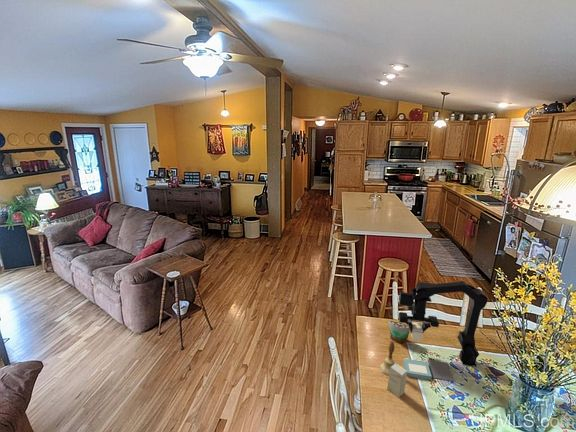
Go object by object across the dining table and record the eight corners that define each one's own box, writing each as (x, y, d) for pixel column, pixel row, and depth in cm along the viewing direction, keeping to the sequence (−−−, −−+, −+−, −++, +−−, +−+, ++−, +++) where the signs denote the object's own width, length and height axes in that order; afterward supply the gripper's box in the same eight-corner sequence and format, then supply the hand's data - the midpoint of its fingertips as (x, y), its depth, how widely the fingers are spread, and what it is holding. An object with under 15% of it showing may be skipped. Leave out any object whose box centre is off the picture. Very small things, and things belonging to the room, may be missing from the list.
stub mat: (447, 363, 155) (448, 362, 155) (454, 381, 144) (455, 380, 144) (427, 360, 157) (427, 359, 157) (433, 378, 146) (433, 377, 146)
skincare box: (386, 389, 139) (389, 366, 136) (392, 384, 142) (395, 362, 139) (399, 398, 134) (402, 375, 131) (404, 393, 137) (407, 370, 134)
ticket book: (426, 364, 154) (427, 361, 153) (431, 380, 145) (431, 376, 144) (403, 361, 156) (404, 357, 156) (406, 375, 147) (407, 372, 146)
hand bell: (397, 365, 153) (401, 338, 149) (397, 377, 146) (400, 349, 141) (380, 361, 156) (383, 334, 152) (379, 372, 149) (382, 344, 144)
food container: (385, 340, 172) (387, 324, 169) (387, 333, 177) (389, 318, 175) (408, 347, 167) (410, 331, 164) (410, 340, 172) (412, 325, 169)
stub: (419, 332, 163) (420, 323, 162) (421, 340, 156) (423, 331, 155) (410, 330, 164) (411, 321, 162) (412, 339, 157) (413, 330, 156)
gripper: (435, 301, 161) (431, 326, 165) (398, 296, 165) (395, 322, 169) (441, 312, 151) (436, 340, 155) (401, 308, 155) (398, 334, 159)
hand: (416, 333), depth 160 cm, fingers closed on stub, 4 cm apart
